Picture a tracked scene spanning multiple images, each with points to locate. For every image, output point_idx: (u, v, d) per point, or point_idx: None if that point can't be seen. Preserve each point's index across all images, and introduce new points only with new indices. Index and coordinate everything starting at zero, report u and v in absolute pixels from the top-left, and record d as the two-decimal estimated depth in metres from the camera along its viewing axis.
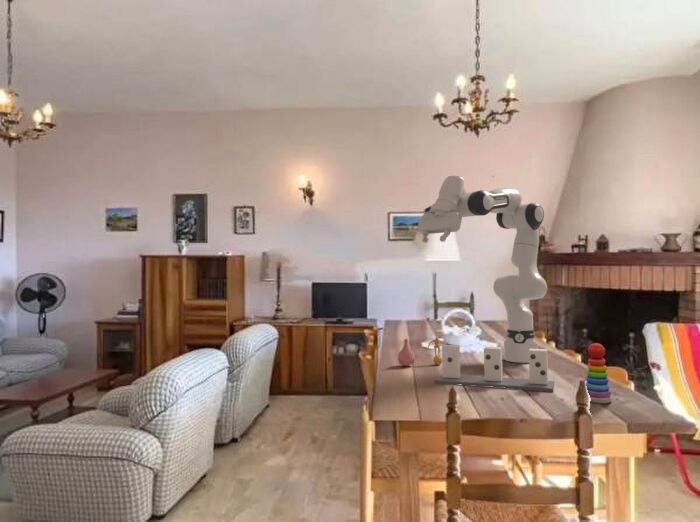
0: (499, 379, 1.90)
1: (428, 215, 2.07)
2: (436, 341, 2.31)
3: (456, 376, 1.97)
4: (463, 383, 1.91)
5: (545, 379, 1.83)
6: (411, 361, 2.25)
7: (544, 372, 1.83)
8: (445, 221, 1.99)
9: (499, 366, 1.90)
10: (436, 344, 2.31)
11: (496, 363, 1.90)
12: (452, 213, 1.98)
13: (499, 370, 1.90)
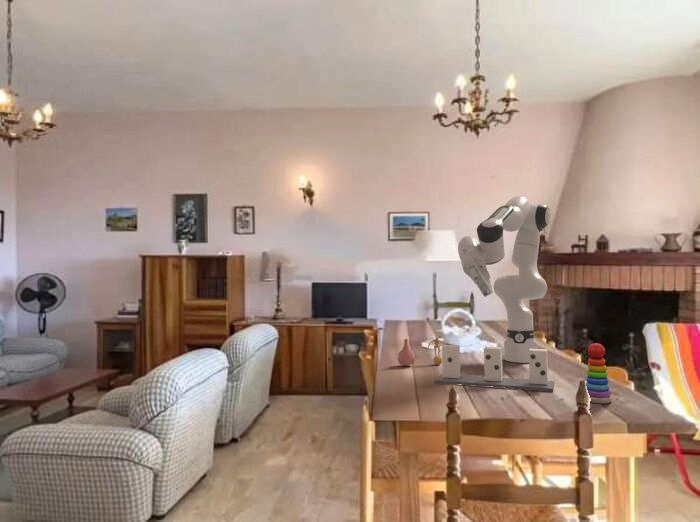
0: (499, 379, 1.90)
1: (474, 280, 2.02)
2: (436, 341, 2.31)
3: (456, 376, 1.97)
4: (463, 383, 1.91)
5: (545, 379, 1.83)
6: (411, 361, 2.25)
7: (544, 372, 1.83)
8: None
9: (499, 366, 1.90)
10: (436, 344, 2.31)
11: (496, 363, 1.90)
12: None
13: (499, 370, 1.90)
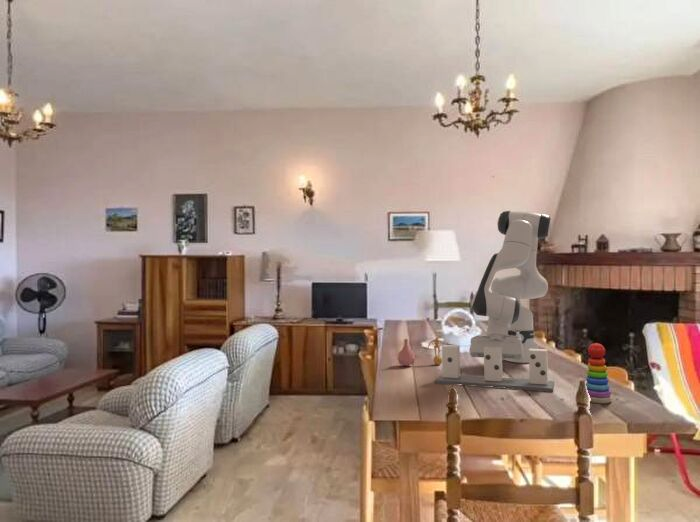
0: (499, 379, 1.90)
1: None
2: (436, 341, 2.31)
3: (456, 376, 1.97)
4: (463, 383, 1.91)
5: (545, 379, 1.83)
6: (411, 361, 2.25)
7: (544, 372, 1.83)
8: None
9: (499, 366, 1.90)
10: (436, 344, 2.31)
11: (496, 363, 1.90)
12: None
13: (499, 370, 1.90)
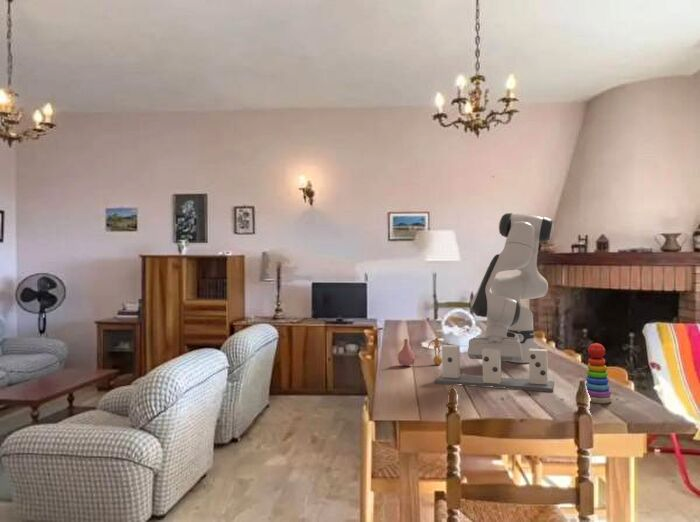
0: (497, 381, 1.86)
1: None
2: (436, 341, 2.31)
3: (456, 376, 1.97)
4: (463, 383, 1.91)
5: (545, 379, 1.83)
6: (411, 361, 2.25)
7: (544, 372, 1.83)
8: None
9: (497, 368, 1.86)
10: (436, 344, 2.31)
11: (494, 365, 1.87)
12: None
13: (497, 372, 1.87)
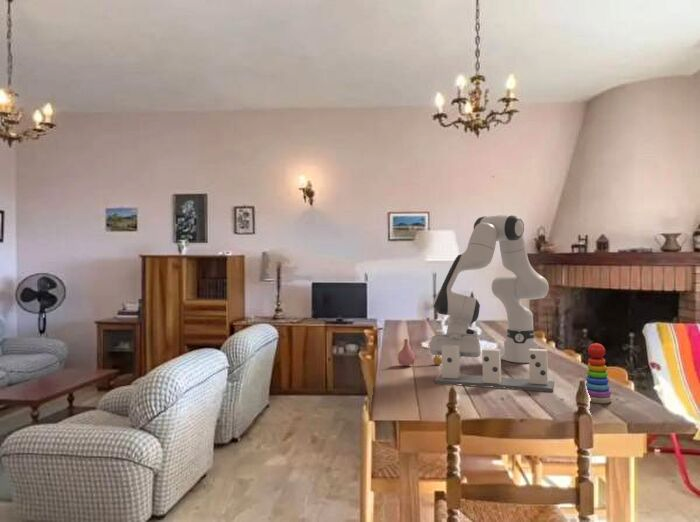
0: (497, 381, 1.86)
1: None
2: None
3: (456, 376, 1.96)
4: (463, 383, 1.91)
5: (545, 379, 1.83)
6: (411, 361, 2.25)
7: (544, 372, 1.83)
8: None
9: (497, 368, 1.86)
10: None
11: (494, 365, 1.87)
12: None
13: (497, 372, 1.87)
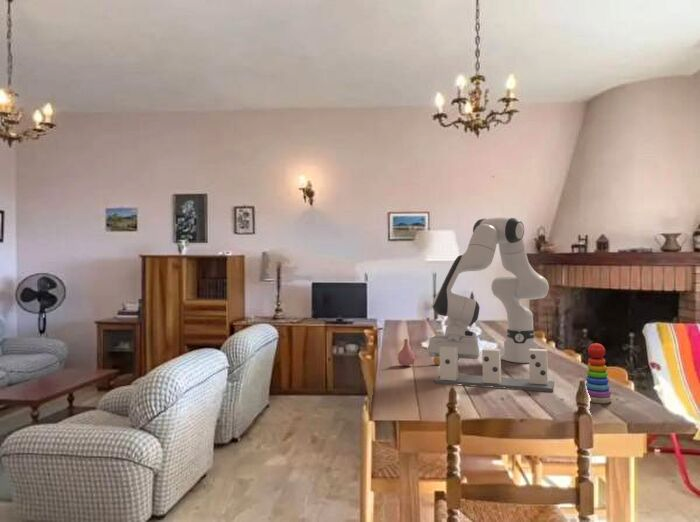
0: (497, 381, 1.86)
1: None
2: None
3: (454, 378, 1.93)
4: (463, 383, 1.91)
5: (545, 379, 1.83)
6: (411, 361, 2.25)
7: (544, 372, 1.83)
8: None
9: (497, 368, 1.86)
10: None
11: (494, 365, 1.87)
12: None
13: (497, 372, 1.87)
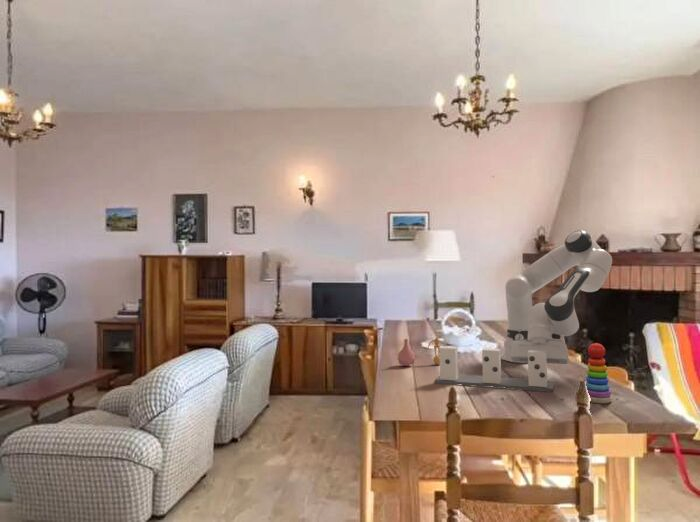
0: (497, 381, 1.86)
1: None
2: (436, 341, 2.31)
3: (454, 378, 1.93)
4: (463, 383, 1.91)
5: (544, 381, 1.80)
6: (411, 361, 2.25)
7: (543, 375, 1.80)
8: None
9: (497, 368, 1.86)
10: (436, 344, 2.31)
11: (494, 365, 1.87)
12: None
13: (497, 372, 1.87)
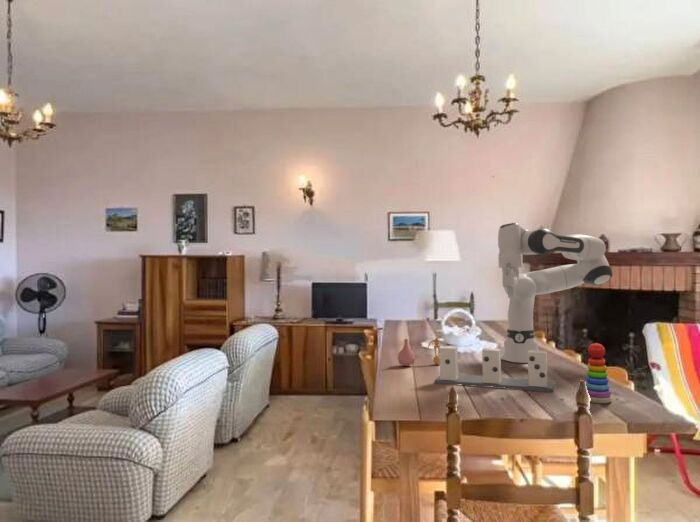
0: (497, 381, 1.86)
1: None
2: (436, 341, 2.31)
3: (454, 378, 1.93)
4: (463, 383, 1.91)
5: (544, 381, 1.80)
6: (411, 361, 2.25)
7: (543, 375, 1.80)
8: None
9: (497, 368, 1.86)
10: (436, 344, 2.31)
11: (494, 365, 1.87)
12: None
13: (497, 372, 1.87)
